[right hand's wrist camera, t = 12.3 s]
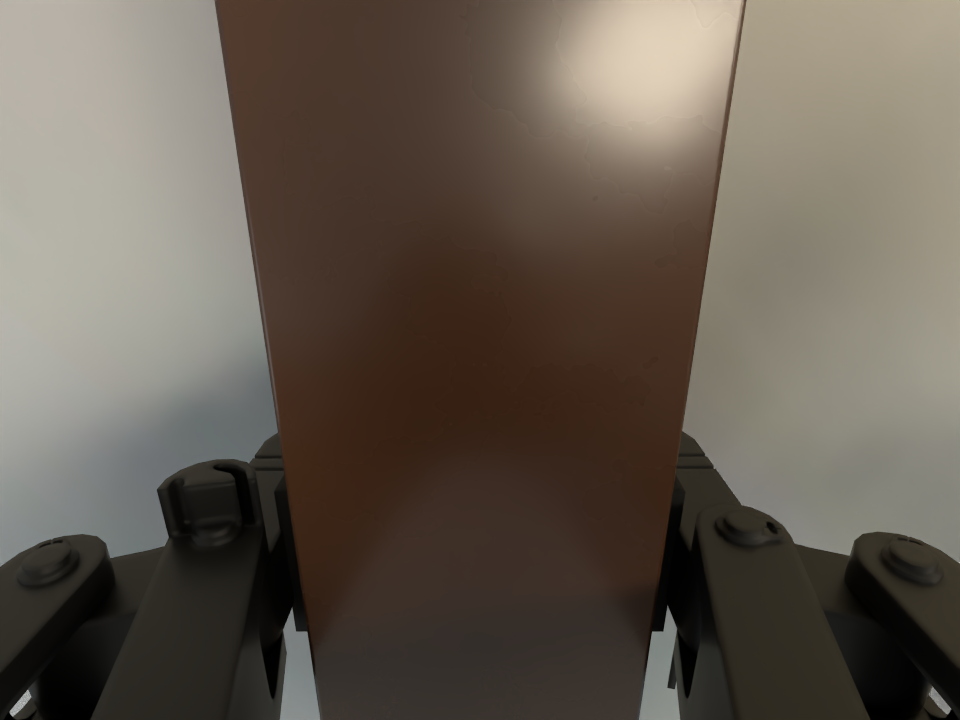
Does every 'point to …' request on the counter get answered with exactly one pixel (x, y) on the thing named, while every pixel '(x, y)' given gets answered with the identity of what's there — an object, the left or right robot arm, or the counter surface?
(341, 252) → the walnut beam
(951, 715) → the right robot arm
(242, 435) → the counter surface
